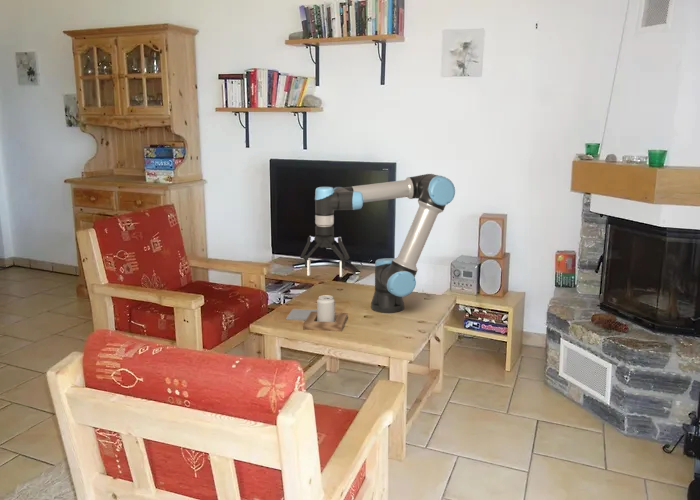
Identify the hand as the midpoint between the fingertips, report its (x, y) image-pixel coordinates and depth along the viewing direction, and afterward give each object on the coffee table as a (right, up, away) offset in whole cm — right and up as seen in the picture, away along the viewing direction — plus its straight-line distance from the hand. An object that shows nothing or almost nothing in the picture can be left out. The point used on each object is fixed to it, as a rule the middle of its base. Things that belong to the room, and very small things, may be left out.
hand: (324, 275), depth 245 cm
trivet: (-10, -18, +15) cm, 26 cm away
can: (0, -21, +5) cm, 21 cm away
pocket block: (0, -21, +5) cm, 21 cm away
